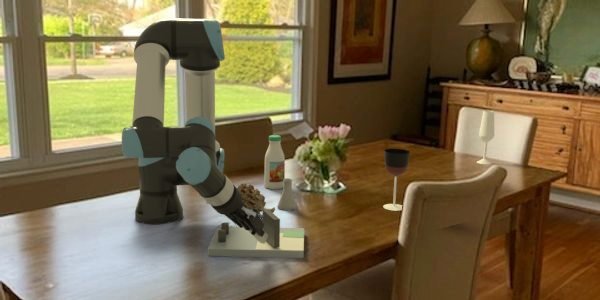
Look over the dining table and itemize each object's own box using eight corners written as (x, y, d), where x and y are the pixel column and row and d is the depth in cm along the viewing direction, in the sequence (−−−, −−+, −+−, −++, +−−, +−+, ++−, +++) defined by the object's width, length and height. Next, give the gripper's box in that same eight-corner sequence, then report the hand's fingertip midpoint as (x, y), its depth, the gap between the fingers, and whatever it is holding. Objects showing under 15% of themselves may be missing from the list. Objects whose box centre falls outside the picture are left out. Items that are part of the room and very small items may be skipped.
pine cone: (223, 212, 199) (222, 183, 197) (245, 206, 206) (245, 178, 204) (266, 229, 184) (267, 198, 182) (289, 222, 191) (289, 192, 188)
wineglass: (386, 202, 213) (389, 147, 209) (409, 206, 209) (413, 150, 205) (377, 207, 207) (380, 151, 202) (401, 212, 202) (404, 155, 198)
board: (208, 255, 163) (207, 238, 162) (218, 232, 180) (217, 216, 179) (304, 258, 162) (304, 240, 161) (304, 234, 180) (305, 218, 179)
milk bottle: (261, 188, 227) (262, 137, 223) (267, 183, 235) (268, 133, 230) (281, 190, 225) (282, 138, 221) (286, 185, 233) (287, 134, 228)
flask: (295, 211, 201) (296, 183, 199) (274, 209, 203) (275, 181, 201) (299, 205, 208) (300, 177, 206) (279, 203, 210) (280, 176, 208)
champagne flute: (475, 163, 274) (480, 111, 269) (477, 160, 280) (481, 109, 275) (490, 165, 271) (495, 112, 266) (492, 161, 277) (497, 110, 272)
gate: (254, 230, 175) (254, 204, 174) (262, 229, 176) (262, 203, 175) (272, 247, 162) (272, 220, 161) (280, 246, 163) (281, 218, 162)
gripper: (195, 202, 149) (240, 245, 166) (233, 212, 141) (276, 257, 158) (209, 177, 152) (252, 222, 169) (248, 186, 144) (289, 232, 161)
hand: (264, 239), depth 163 cm, fingers closed
